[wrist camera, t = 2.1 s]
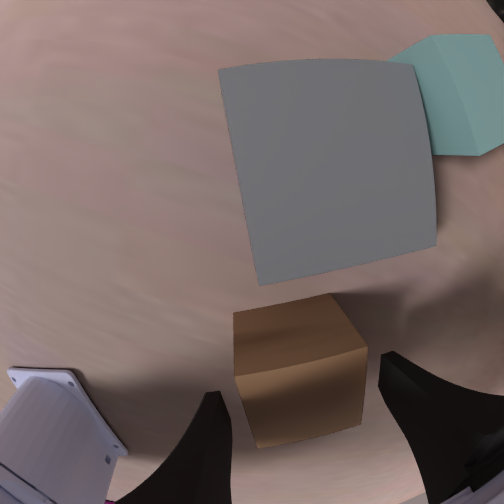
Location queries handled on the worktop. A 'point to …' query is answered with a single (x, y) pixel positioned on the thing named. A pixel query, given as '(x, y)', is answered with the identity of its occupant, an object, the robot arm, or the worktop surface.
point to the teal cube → (459, 91)
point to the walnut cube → (299, 370)
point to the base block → (330, 163)
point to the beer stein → (497, 7)
